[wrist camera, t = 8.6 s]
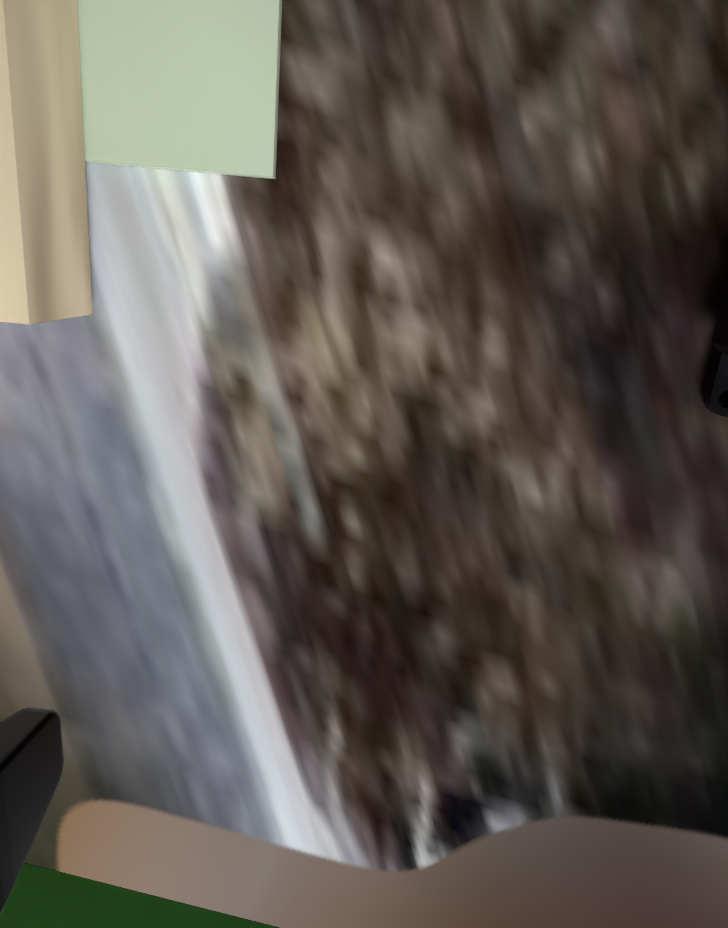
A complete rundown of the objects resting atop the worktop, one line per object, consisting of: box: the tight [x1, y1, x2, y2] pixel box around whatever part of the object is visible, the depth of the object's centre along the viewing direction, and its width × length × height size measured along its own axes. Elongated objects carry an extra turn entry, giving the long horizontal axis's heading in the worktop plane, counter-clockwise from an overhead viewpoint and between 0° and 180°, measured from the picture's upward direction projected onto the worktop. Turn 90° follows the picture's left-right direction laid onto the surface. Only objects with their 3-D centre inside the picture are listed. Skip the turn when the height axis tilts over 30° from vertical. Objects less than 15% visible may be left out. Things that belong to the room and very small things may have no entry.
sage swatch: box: [77, 0, 282, 179], centre depth 16 cm, size 6×6×1 cm
